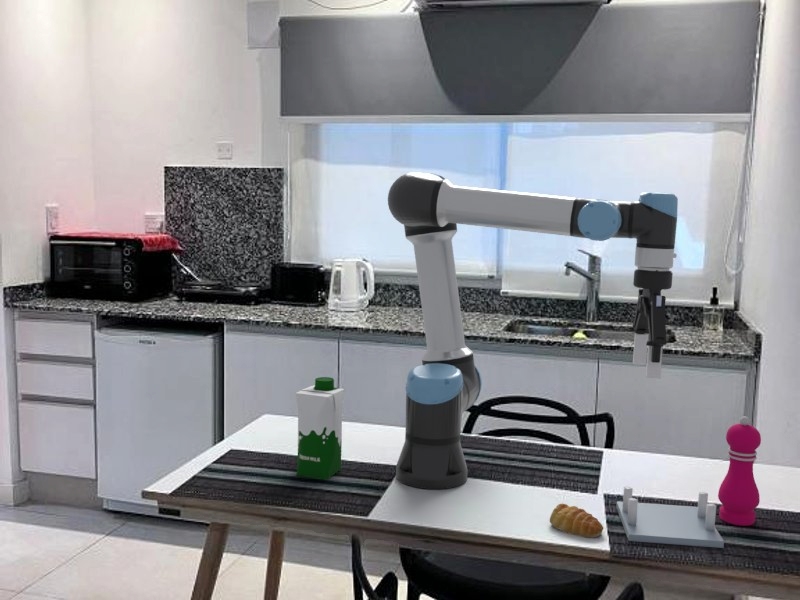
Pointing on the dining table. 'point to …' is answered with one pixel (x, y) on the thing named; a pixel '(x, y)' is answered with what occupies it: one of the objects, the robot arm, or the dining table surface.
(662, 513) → the tray
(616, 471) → the dining table surface
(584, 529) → the pastry
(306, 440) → the milk carton
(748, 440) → the pepper mill
